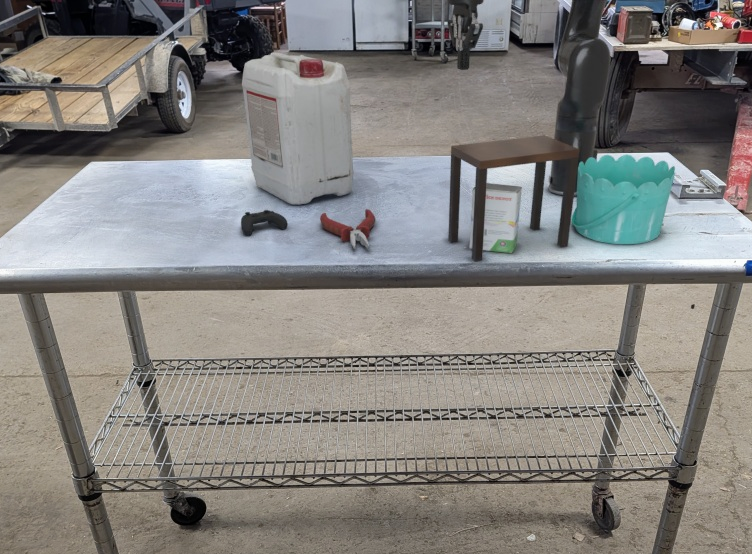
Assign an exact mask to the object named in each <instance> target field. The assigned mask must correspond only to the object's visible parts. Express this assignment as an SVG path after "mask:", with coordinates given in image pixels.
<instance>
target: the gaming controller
mask: <svg viewBox="0 0 752 554" xmlns="http://www.w3.org/2000/svg"><path fill="white" fill-rule="evenodd" d="M240 221H241V222H240V227H241V230H242V232H243V234H245V236H250V235H252V233H253V230H254V225H257V224H262V223H268V224H270V225H271V224H273V225H274V226H276V227H277V228H280V229H281V230H284V229H286V228H287V227H288V220H287V219H286V217H285V216H283V215H282V214H280V213H278V212H275V211H274V210H269V209H264V210H263V211H259V212H253V213H251V212H250V211H246V212H244V214H243V216H242V217H241V219H240Z"/></svg>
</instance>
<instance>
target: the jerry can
mask: <svg viewBox="0 0 752 554" xmlns="http://www.w3.org/2000/svg"><path fill="white" fill-rule="evenodd" d="M243 66H244V68H243V72H242V80H241V87H242V93H243V101H244V108H245V109H244V110H245V116H246V126H247V133H248V134H247V135H248V143H249V144H248V145H249V153H250V160H251V161H250V163H251V165H250V166H251V172H252V174H253V178H254V183H255V185H256V187H258V188H260V189H262V190H264V191H266V192H267V193H270V194H271V195H273V196H275V197H276V198H278V199H280V200H281V201H283V202H286V203H288V204H289V205H293V206H296V205H298V206H300V205H305V204H309V203H310V202H311V201H312V200H313V199H315V198H319V197H322V196H325V195H332V194H333V195H334V196H338V197H341V196H346V195H349V194H350V192H352V190H353V181H354V173H355V172H354V161H353V160H354V157H353V139H352V136H353V135H352V134H353V133H352V116H351V115H352V112H351V85H350V81H349V78H348V75H347V72H346V69H345V66H344V65H343V64H342V63H339V62H338V61H336V62H333V61H329V60H325V59H318V58H315V57H309V56H305V55H304V54H300V55H292V54H291V55H288V54H285V53H281V52H271V53H270V54H268V55H265V54H264V56H262V57H261V58H255V59H250V60H248V61H246V62H245V63H244V65H243Z"/></svg>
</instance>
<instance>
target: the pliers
mask: <svg viewBox="0 0 752 554" xmlns="http://www.w3.org/2000/svg"><path fill="white" fill-rule="evenodd" d="M364 213H365V215H364V216H365V217H364V219H363V220H362V221H361V222H360V223H359V224H358V225H357V226H356V227H355V228H354V227H353V226H351V225H346V224H343V223H342V222H338V221H336V220H334V219H331V218H329V217H328V216H327V213H326V212H323V213H321V215H320V217H319V219H320V224H321V227H322V228H323V229H324V230H325V231H327V232H329V233H332V234H335V235H337V236H340V240H341V241H342V242H344V243H346V242H350V245H351V246H352V248H353V249H354V251H356V248H357V247H356V246H357V245H356V244H357V242H359V243H360V245H362V246H364V247H366V248H367V249H370V248H371V246H370V243H369V240H368V239H369V238H370V230H371V229H372V228H373V227H374V225H375V224H376V216H375V214H374V213H373V212H372V211H371V210H370V209H367V208H366V209H364Z"/></svg>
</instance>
